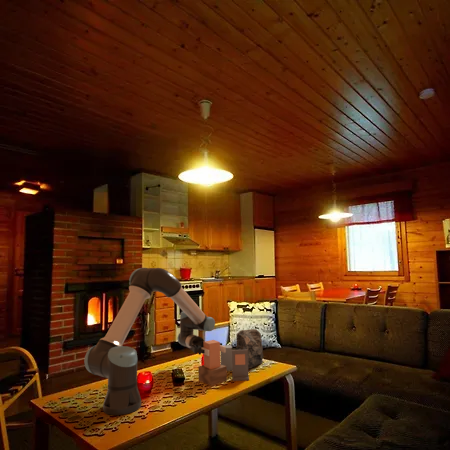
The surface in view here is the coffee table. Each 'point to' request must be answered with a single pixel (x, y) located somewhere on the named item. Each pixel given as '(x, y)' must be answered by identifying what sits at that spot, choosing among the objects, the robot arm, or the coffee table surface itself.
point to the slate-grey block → (227, 357)
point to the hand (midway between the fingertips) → (217, 351)
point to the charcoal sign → (240, 365)
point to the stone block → (251, 345)
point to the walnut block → (212, 374)
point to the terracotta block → (212, 354)
